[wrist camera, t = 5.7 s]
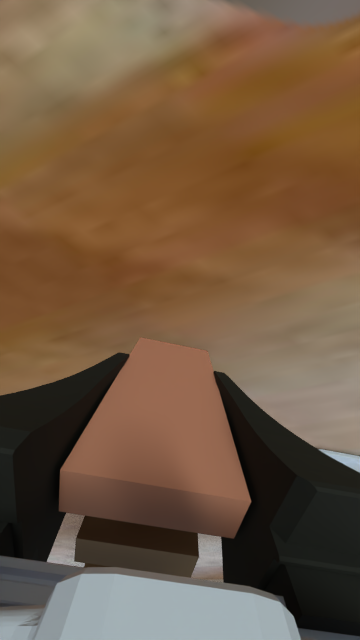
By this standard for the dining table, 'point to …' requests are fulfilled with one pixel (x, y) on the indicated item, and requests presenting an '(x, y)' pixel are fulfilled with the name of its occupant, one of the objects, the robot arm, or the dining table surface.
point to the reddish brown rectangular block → (159, 448)
